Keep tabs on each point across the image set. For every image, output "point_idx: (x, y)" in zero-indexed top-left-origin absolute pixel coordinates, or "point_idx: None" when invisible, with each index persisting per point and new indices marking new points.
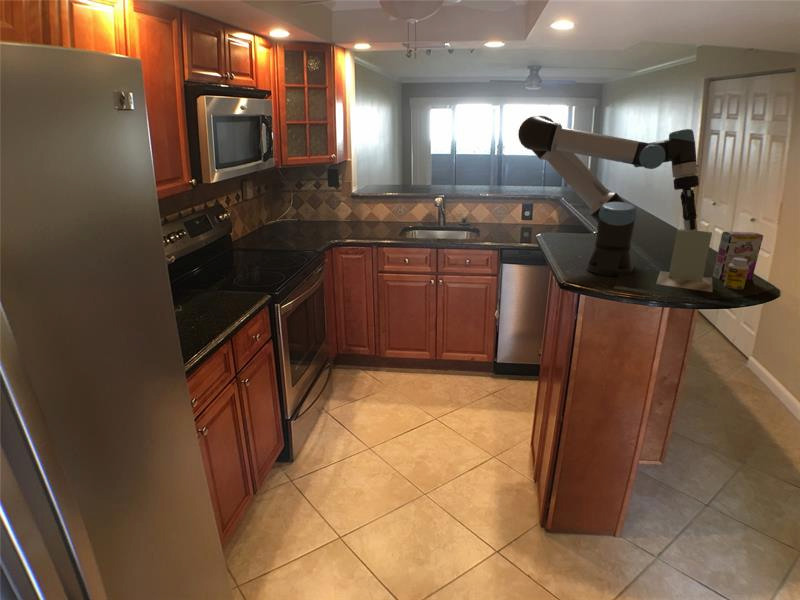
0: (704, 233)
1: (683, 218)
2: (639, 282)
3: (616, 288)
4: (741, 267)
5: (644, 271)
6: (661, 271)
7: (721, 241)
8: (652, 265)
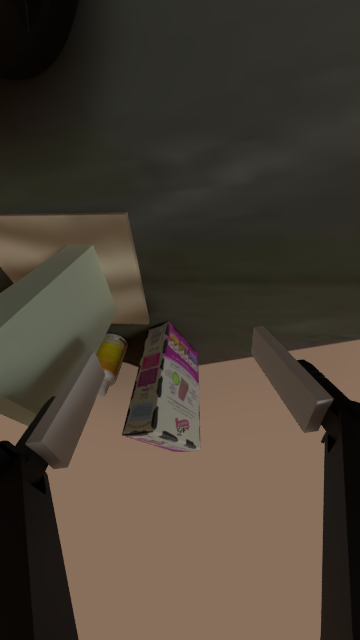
0: (13, 417)
1: (353, 409)
2: None
3: None
4: None
5: (119, 145)
6: (121, 219)
7: (153, 400)
8: (240, 168)
